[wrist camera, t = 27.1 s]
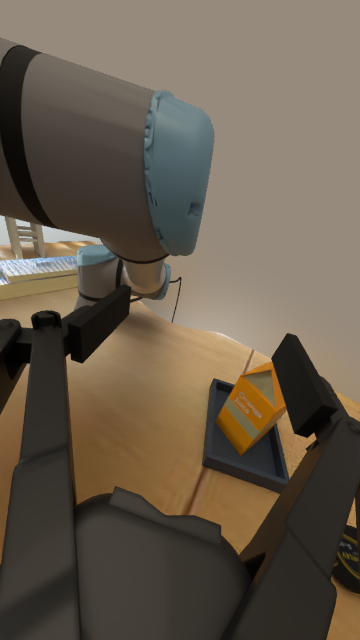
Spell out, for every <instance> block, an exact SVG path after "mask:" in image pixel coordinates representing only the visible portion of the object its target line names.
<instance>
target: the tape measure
mask: <svg viewBox="0 0 360 640" xmlns="http://www.w3.org/2000/svg"><path fill="white" fill-rule="evenodd" d="M332 574H333V575H334V576H335V578H336V579H337V580H338V581H339V582H340V583H341V584H343V585H344V586H345V587H347V588H348V589H350V590H351V591H353V592H355V593H358V594H360V578H359V560H358V543H357V528H355V527H352V526H349V525H346V527H345V530H344V534H343V537H342V540H341V543H340V547H339V550H338V553H337V557H336V560H335V563H334V566H333V570H332Z"/></svg>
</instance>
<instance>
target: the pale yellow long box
mask: <svg viewBox="0 0 360 640" xmlns="http://www.w3.org/2000/svg"><path fill="white" fill-rule="evenodd" d="M76 263H77V256H69V257H52V258H33V259H28V260H26V259H18V260H17V259H16V260H10V261H9V260H1V261H0V300H6V299H11V298H17V297H23V296H28V295H34V294H40V293H45V292H51V291H57V290H62V289H68V288H74V287H78V273H77V265H76Z"/></svg>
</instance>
